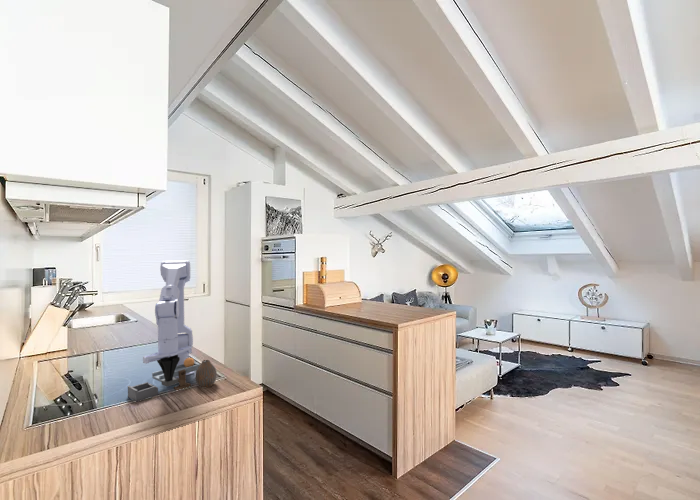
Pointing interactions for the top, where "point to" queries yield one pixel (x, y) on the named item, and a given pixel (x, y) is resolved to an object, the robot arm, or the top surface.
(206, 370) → the vase
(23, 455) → the top surface
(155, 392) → the grey open box
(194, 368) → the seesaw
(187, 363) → the ball
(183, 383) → the stand
